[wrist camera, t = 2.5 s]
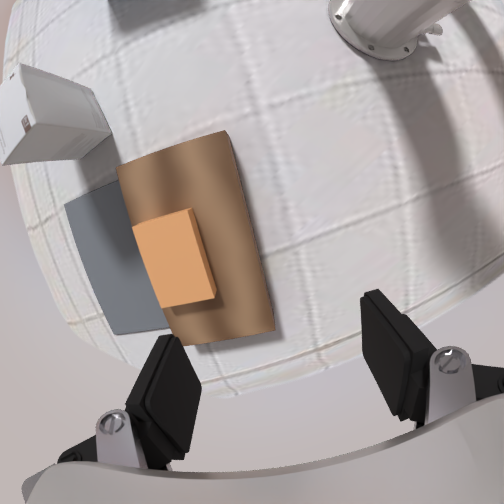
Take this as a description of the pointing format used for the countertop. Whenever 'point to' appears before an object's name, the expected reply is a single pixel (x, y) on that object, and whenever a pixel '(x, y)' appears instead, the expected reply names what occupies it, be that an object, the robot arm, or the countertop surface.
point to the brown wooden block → (205, 234)
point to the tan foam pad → (175, 259)
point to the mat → (114, 260)
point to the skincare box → (47, 118)
